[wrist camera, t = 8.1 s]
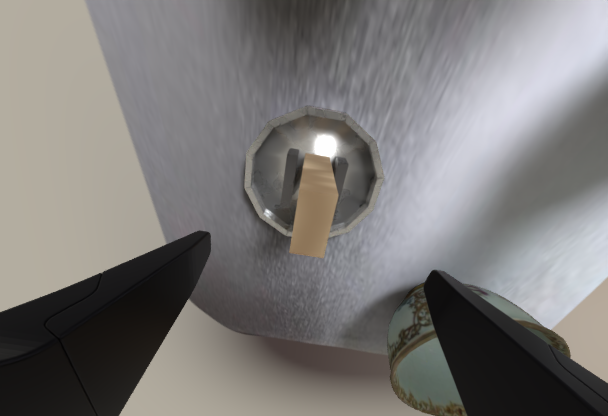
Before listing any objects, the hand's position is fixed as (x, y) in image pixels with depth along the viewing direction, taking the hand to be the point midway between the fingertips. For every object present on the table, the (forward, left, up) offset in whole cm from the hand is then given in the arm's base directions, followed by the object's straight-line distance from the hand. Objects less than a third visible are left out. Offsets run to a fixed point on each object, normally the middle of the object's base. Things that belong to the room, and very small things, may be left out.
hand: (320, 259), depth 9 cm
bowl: (-16, +13, -12) cm, 23 cm away
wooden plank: (0, +1, -11) cm, 11 cm away
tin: (0, +1, -12) cm, 12 cm away
